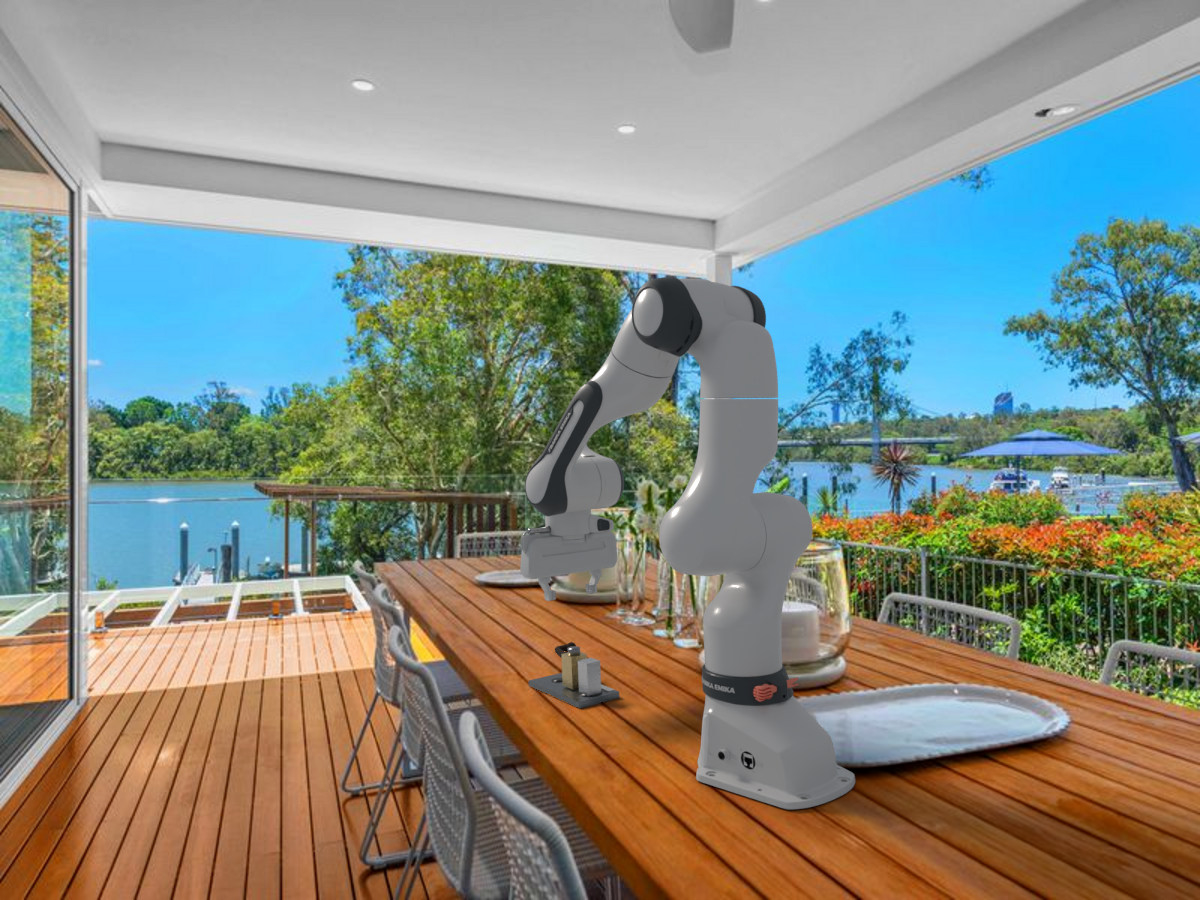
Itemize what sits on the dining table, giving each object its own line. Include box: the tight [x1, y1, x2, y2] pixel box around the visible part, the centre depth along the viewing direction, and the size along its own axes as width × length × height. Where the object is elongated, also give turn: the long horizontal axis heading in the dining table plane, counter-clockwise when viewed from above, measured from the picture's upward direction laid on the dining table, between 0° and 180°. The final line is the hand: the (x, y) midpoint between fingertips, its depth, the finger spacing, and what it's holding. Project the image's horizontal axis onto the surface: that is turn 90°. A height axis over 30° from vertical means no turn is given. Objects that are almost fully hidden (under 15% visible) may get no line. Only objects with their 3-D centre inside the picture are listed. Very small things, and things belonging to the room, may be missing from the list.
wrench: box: [554, 641, 577, 659], centre depth 169 cm, size 5×5×30 cm
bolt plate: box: [528, 657, 620, 709], centre depth 152 cm, size 18×9×7 cm, turn 35°
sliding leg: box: [560, 645, 588, 689], centre depth 151 cm, size 4×4×7 cm
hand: (571, 596), depth 151 cm, fingers open, 8 cm apart
